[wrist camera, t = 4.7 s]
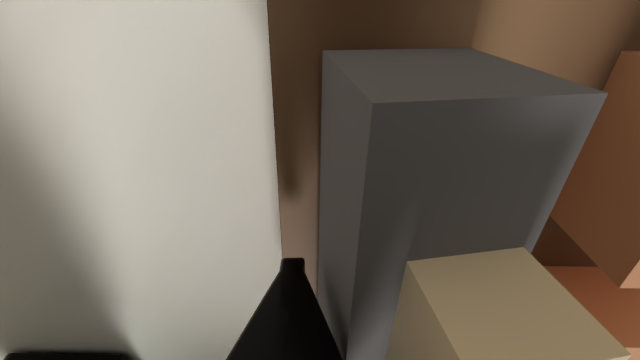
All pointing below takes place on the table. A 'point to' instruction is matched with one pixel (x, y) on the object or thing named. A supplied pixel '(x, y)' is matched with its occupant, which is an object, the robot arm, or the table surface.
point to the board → (424, 33)
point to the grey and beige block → (448, 207)
